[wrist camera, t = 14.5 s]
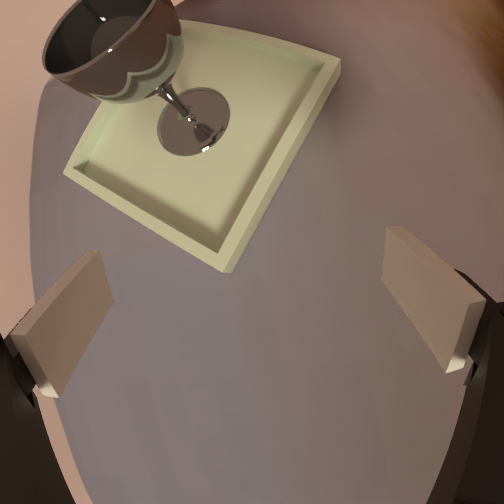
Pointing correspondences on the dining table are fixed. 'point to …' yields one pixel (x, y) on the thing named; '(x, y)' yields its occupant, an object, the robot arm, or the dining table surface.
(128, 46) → the wine glass
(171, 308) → the dining table surface
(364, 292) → the dining table surface
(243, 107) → the tray
